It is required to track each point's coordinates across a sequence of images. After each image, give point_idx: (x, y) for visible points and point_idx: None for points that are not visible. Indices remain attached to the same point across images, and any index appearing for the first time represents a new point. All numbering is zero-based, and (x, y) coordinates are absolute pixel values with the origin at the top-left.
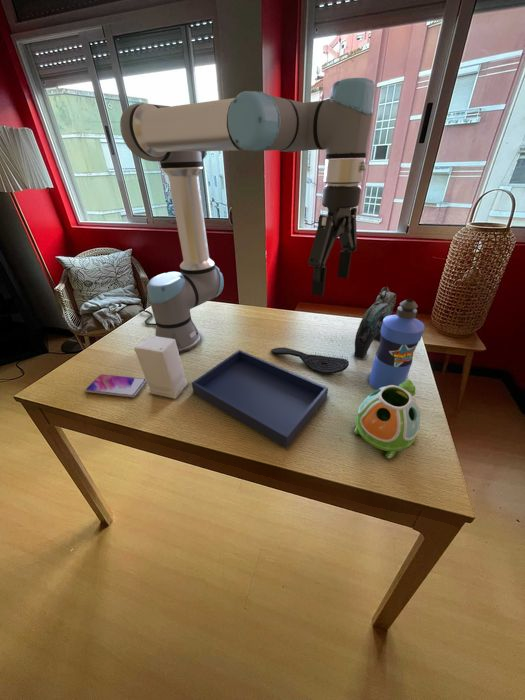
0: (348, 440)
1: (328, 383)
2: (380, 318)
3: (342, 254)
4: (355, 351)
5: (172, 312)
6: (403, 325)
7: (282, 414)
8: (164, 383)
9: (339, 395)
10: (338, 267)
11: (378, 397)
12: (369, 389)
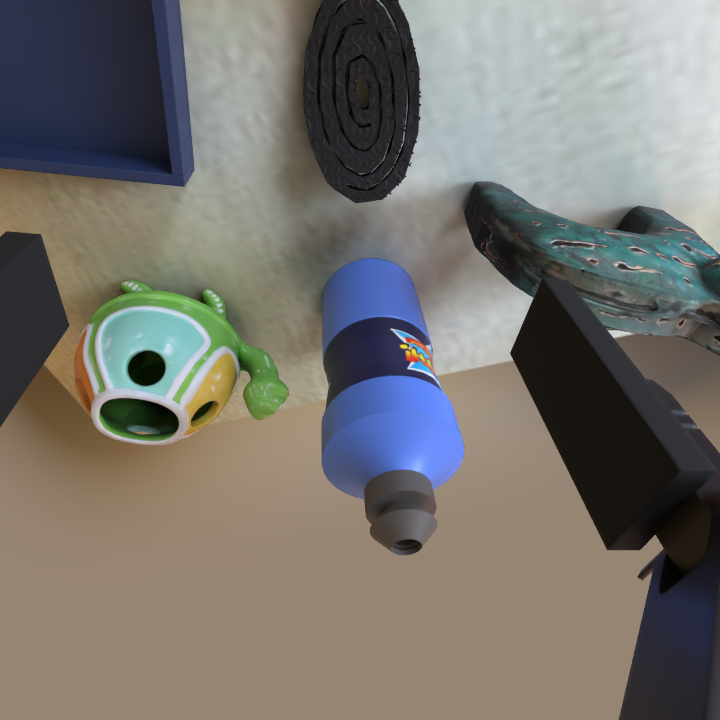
0: (92, 274)
1: (268, 147)
2: None
3: (641, 461)
4: (477, 193)
5: None
6: (348, 476)
7: None
8: None
9: (233, 202)
10: (577, 333)
11: (103, 393)
12: (315, 270)
